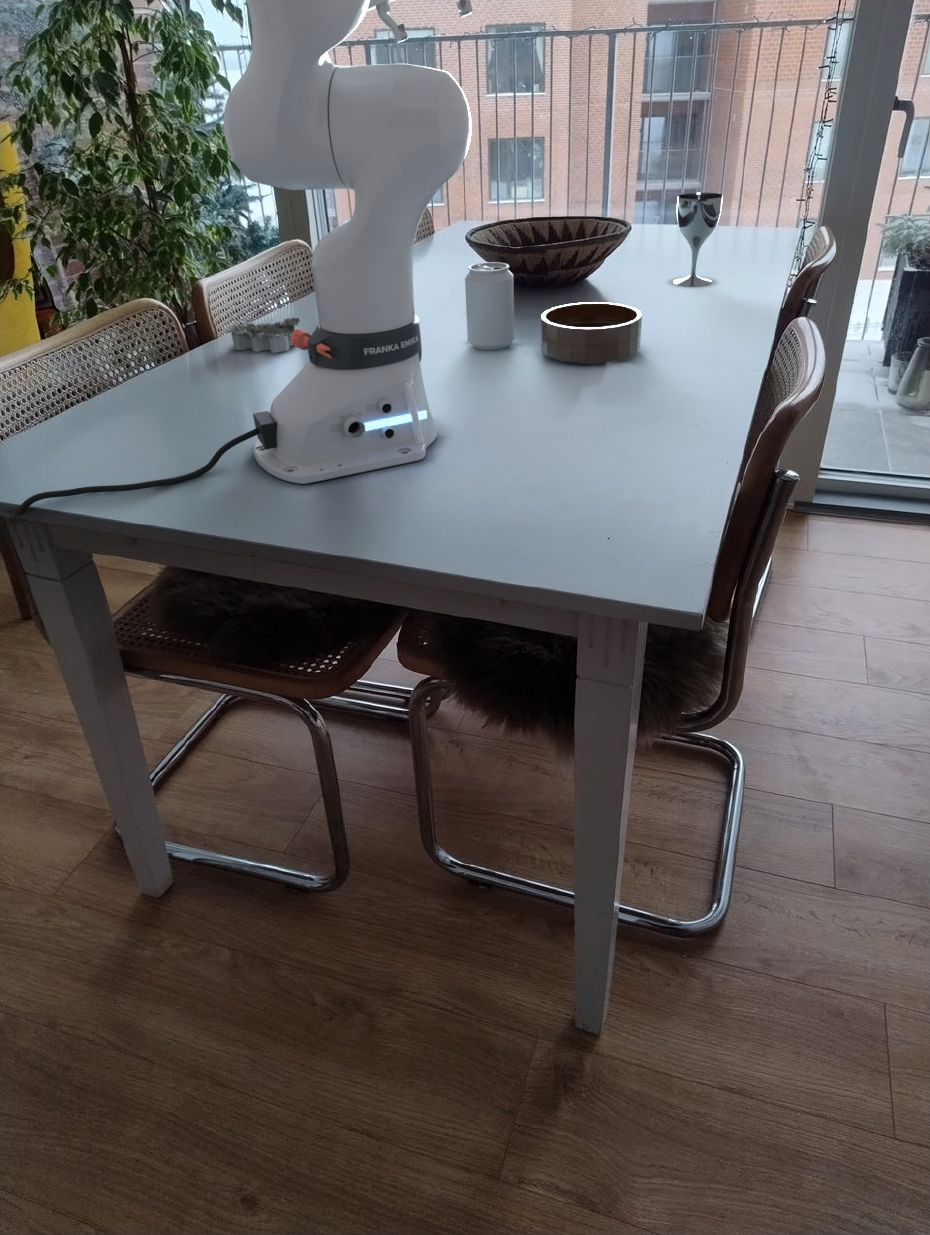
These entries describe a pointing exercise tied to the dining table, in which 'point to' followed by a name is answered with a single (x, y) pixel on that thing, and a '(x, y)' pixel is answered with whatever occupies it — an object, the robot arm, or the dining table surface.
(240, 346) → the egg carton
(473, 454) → the dining table surface
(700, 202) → the silver goblet
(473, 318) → the can
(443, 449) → the dining table surface
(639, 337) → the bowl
